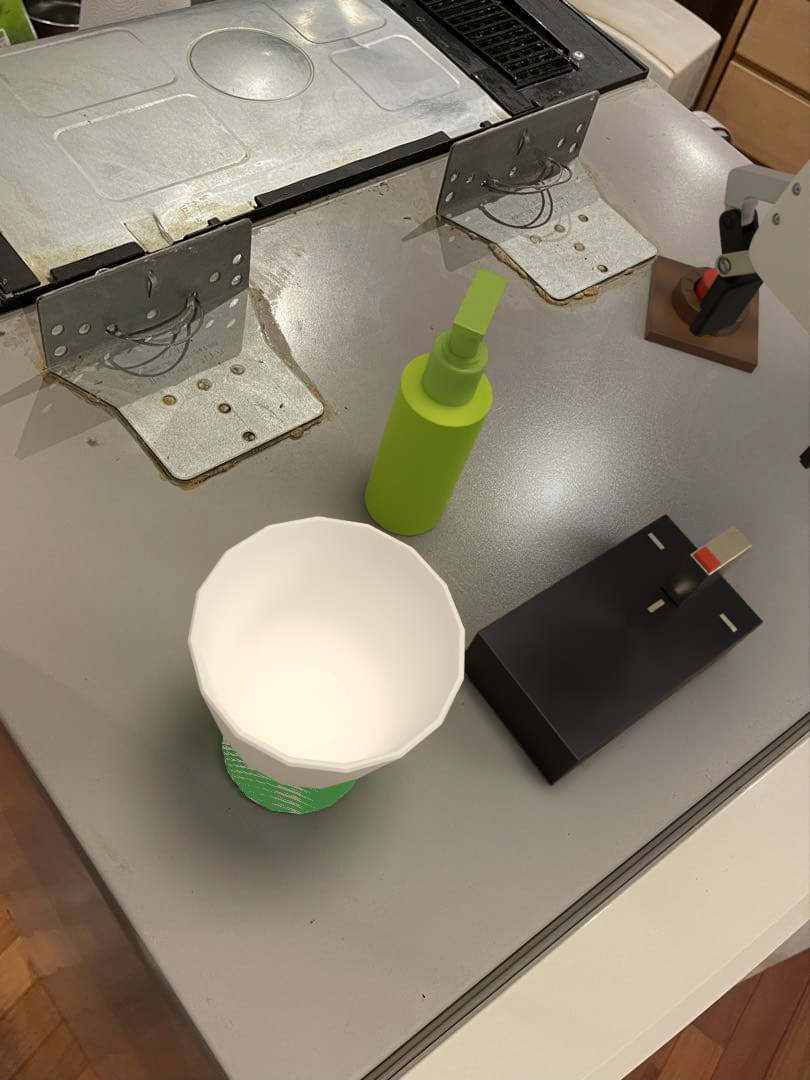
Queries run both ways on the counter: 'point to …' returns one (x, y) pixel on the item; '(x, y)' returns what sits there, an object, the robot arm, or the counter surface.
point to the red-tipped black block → (706, 565)
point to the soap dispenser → (435, 418)
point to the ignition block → (680, 306)
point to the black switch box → (602, 648)
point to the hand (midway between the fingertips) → (762, 390)
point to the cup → (323, 656)
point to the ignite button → (705, 283)
